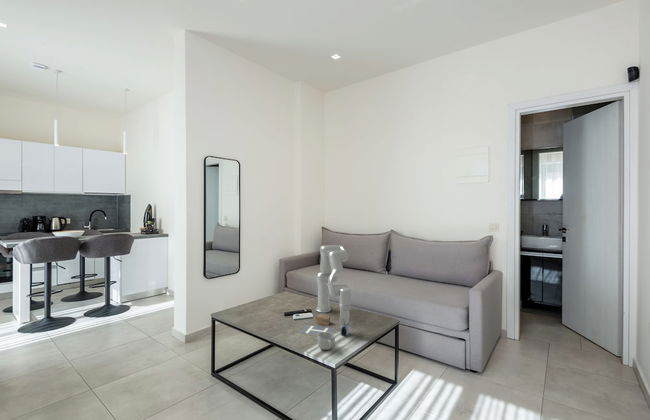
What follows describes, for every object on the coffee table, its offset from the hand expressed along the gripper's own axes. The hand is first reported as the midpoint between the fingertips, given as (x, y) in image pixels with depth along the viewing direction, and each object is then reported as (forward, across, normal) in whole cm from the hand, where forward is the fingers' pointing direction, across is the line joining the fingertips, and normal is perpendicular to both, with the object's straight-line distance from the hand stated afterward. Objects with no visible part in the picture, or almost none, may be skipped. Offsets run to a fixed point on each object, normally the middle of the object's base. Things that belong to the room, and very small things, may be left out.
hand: (344, 332), depth 210 cm
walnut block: (+2, -14, -20) cm, 24 cm away
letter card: (+1, 0, -20) cm, 20 cm away
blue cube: (+1, 0, 0) cm, 1 cm away
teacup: (+1, +23, -6) cm, 24 cm away
